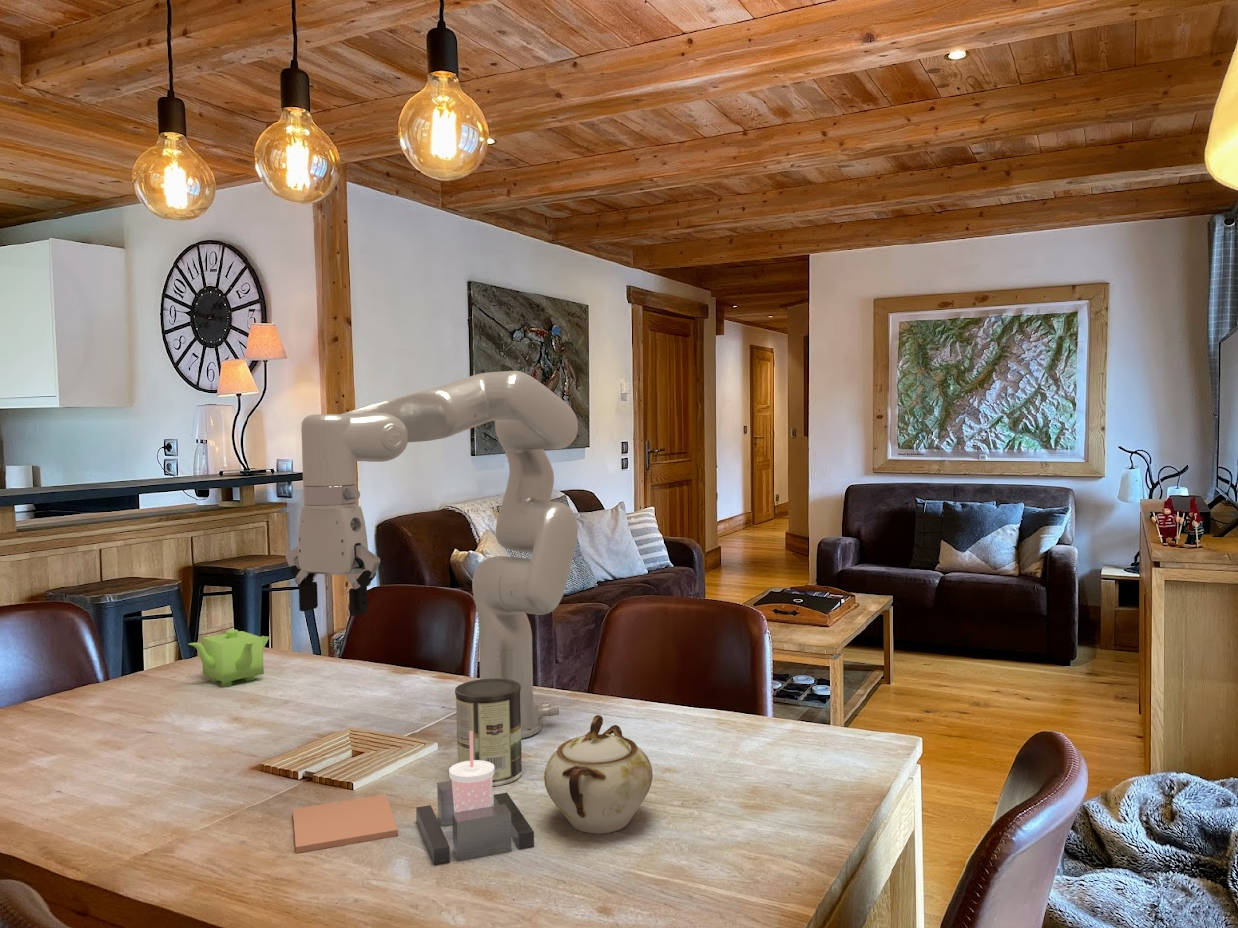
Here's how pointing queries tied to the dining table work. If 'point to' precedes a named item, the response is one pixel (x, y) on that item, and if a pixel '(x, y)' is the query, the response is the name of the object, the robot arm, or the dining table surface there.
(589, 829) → the sugar bowl
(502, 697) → the coffee can
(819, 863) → the dining table surface
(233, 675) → the kettle
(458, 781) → the beverage cup
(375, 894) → the dining table surface
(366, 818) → the terracotta tile
